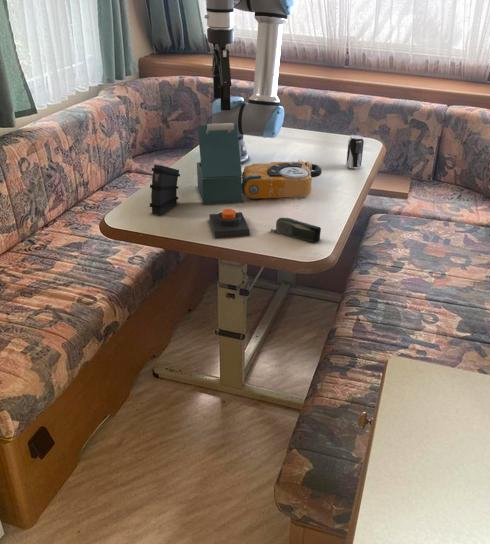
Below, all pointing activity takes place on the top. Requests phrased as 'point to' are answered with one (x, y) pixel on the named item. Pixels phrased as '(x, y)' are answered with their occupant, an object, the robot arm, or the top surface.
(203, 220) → the top surface
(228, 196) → the teal rectangular block
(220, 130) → the lid
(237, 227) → the control block
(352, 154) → the beverage can
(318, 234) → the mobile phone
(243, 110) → the robot arm
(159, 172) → the magazine
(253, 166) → the device
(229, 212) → the button
